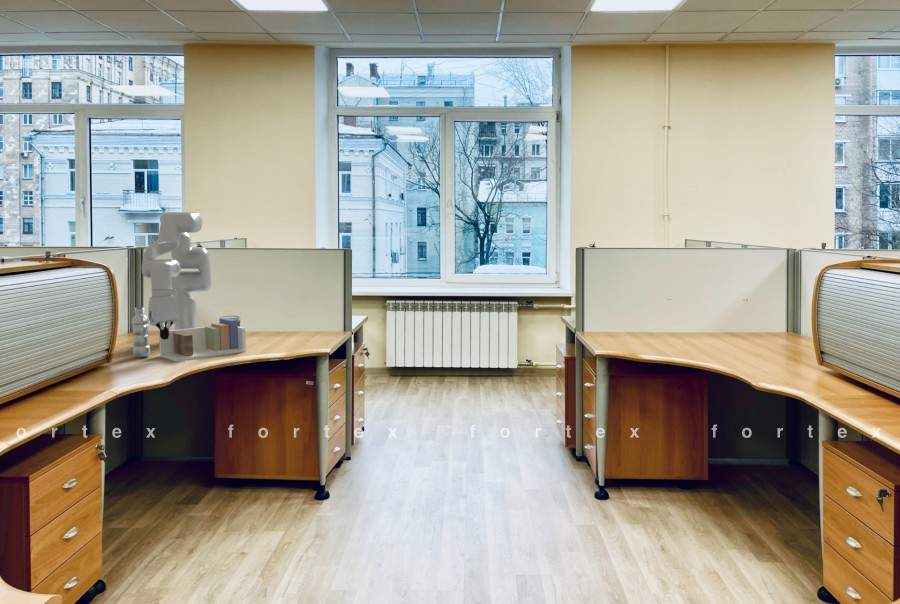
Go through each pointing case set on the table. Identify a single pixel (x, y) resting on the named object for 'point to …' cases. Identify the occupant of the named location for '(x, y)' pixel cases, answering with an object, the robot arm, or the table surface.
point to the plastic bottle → (140, 333)
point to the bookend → (183, 343)
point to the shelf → (197, 345)
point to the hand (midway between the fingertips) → (164, 338)
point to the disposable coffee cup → (233, 318)
